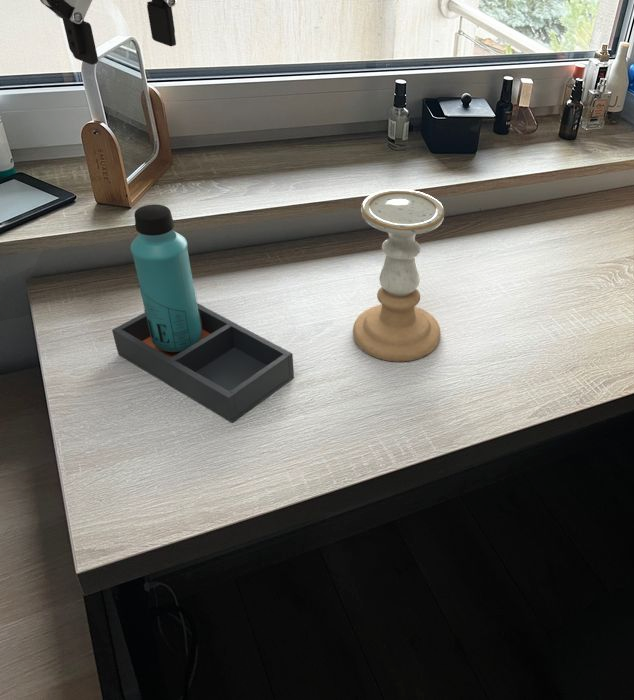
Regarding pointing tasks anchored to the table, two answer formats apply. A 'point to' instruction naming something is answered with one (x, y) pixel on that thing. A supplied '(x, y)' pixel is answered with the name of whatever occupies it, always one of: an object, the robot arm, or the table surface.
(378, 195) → the candle holder
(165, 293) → the beverage bottle
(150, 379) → the table surface
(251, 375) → the two compartment tray
